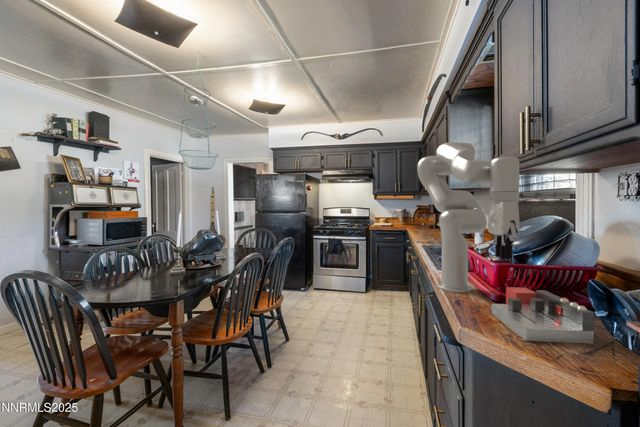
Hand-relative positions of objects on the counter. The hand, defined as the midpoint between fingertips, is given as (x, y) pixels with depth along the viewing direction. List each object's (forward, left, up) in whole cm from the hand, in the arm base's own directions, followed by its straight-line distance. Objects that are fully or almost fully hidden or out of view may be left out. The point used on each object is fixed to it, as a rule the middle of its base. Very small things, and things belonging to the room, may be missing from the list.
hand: (503, 257), depth 90 cm
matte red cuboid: (-3, +7, -17) cm, 19 cm away
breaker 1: (+7, 0, -14) cm, 15 cm away
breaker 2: (+7, +6, -14) cm, 17 cm away
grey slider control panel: (+11, +4, -17) cm, 20 cm away
